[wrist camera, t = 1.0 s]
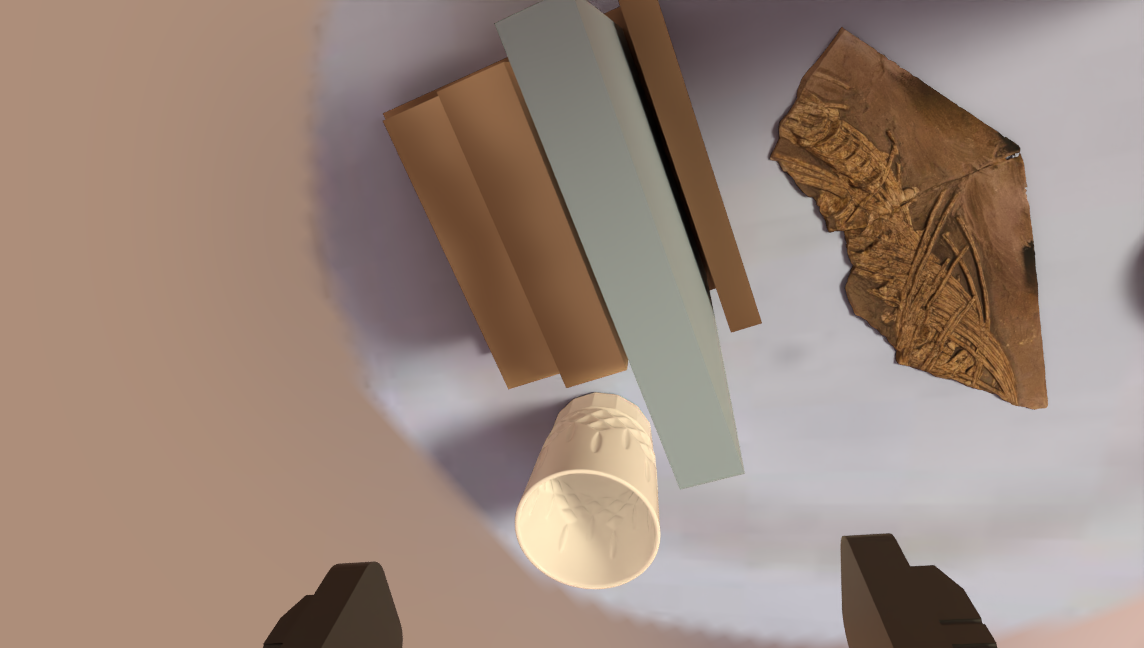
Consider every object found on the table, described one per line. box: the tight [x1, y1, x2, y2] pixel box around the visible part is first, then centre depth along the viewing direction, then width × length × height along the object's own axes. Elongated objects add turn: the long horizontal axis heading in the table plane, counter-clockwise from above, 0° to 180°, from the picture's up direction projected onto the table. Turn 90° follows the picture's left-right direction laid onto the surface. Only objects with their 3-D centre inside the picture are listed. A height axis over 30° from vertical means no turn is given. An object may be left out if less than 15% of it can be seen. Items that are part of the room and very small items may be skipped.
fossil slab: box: [770, 27, 1048, 410], centre depth 37 cm, size 26×11×1 cm, turn 33°
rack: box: [383, 0, 762, 332], centre depth 35 cm, size 16×16×8 cm
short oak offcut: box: [383, 96, 560, 389], centre depth 35 cm, size 3×14×8 cm, turn 22°
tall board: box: [494, 0, 745, 490], centre depth 27 cm, size 2×14×20 cm, turn 22°
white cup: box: [515, 392, 660, 589], centre depth 40 cm, size 8×8×10 cm
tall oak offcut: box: [437, 62, 628, 388], centre depth 33 cm, size 3×14×10 cm, turn 22°
